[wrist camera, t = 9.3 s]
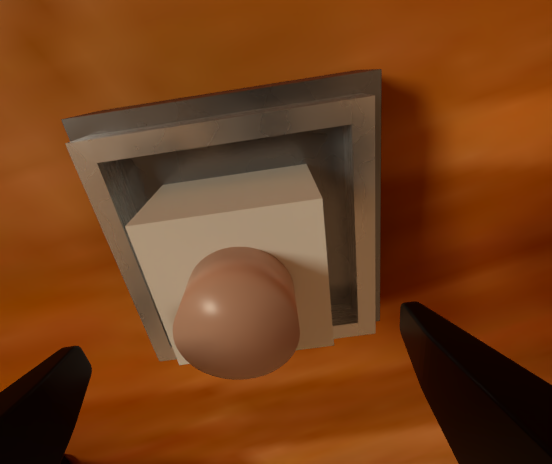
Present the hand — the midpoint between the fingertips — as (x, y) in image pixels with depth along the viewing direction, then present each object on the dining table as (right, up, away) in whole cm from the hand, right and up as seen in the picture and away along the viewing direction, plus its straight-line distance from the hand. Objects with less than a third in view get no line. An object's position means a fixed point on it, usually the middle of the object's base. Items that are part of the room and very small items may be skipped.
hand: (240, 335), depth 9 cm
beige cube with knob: (0, +3, +6) cm, 6 cm away
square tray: (0, +4, +8) cm, 9 cm away
